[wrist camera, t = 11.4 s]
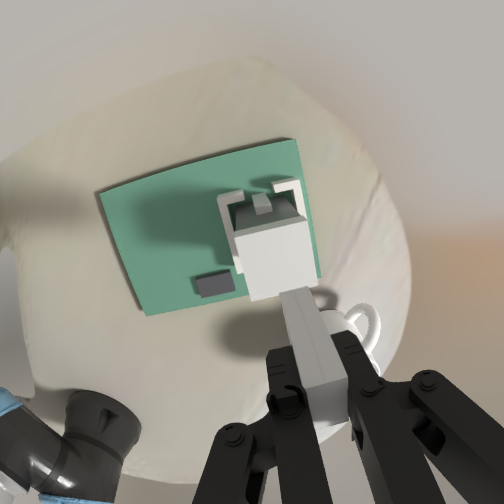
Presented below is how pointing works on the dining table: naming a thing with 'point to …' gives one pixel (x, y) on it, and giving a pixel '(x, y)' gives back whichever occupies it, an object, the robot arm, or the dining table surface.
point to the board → (194, 225)
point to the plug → (273, 247)
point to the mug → (342, 322)
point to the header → (238, 195)
